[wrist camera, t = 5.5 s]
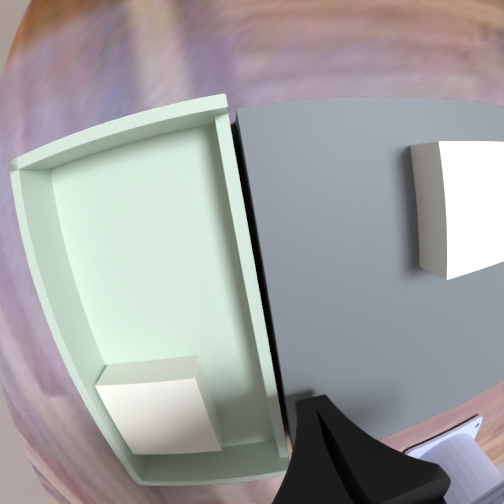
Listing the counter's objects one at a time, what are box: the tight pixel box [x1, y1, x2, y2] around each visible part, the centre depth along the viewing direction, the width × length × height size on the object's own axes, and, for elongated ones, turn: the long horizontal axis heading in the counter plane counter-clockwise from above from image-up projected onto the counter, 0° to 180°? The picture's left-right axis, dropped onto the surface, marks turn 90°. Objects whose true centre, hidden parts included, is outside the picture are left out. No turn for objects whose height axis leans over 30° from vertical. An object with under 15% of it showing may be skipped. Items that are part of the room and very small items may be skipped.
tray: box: [9, 94, 290, 486], centre depth 13 cm, size 18×9×3 cm, turn 10°
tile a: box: [95, 354, 222, 454], centre depth 14 cm, size 5×5×2 cm
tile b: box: [410, 141, 504, 280], centre depth 10 cm, size 5×5×2 cm
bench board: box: [235, 97, 504, 449], centre depth 13 cm, size 17×16×2 cm
